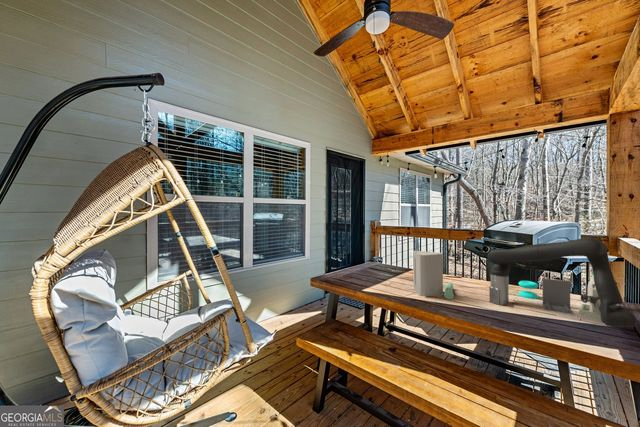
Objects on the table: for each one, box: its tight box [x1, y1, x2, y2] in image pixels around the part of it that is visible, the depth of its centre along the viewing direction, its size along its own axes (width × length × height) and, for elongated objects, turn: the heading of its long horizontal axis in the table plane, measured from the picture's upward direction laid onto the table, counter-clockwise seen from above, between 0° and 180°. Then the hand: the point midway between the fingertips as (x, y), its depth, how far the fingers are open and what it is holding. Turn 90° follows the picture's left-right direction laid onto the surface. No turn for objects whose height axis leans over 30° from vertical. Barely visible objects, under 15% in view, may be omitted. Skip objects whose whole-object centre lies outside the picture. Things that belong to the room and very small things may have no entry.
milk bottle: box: [587, 271, 595, 305], centre depth 154 cm, size 8×8×20 cm
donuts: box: [518, 280, 539, 300], centre depth 171 cm, size 10×10×10 cm
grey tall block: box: [589, 284, 601, 314], centre depth 140 cm, size 6×5×16 cm
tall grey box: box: [412, 250, 444, 297], centre depth 182 cm, size 19×15×28 cm
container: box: [443, 282, 455, 300], centre depth 183 cm, size 6×6×25 cm
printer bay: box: [542, 277, 575, 315], centre depth 150 cm, size 12×12×16 cm
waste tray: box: [578, 303, 601, 320], centre depth 141 cm, size 13×13×4 cm
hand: (596, 296), depth 142 cm, fingers open, 8 cm apart
